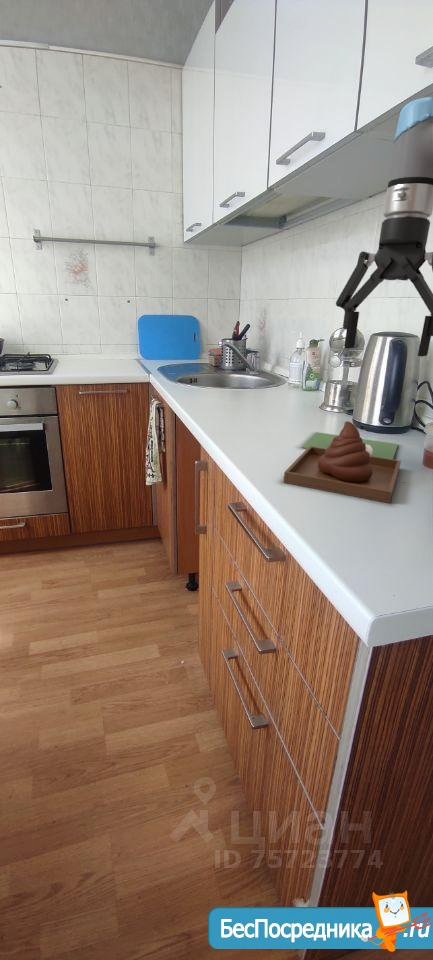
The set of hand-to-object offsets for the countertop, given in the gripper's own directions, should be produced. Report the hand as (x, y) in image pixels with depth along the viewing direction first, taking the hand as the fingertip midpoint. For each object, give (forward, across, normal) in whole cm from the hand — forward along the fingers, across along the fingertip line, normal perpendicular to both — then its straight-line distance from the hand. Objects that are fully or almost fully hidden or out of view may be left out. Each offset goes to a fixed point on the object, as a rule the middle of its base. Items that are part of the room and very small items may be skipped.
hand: (384, 351), depth 84 cm
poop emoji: (+20, +1, -12) cm, 24 cm away
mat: (+21, -6, +6) cm, 22 cm away
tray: (+21, +1, -12) cm, 24 cm away
